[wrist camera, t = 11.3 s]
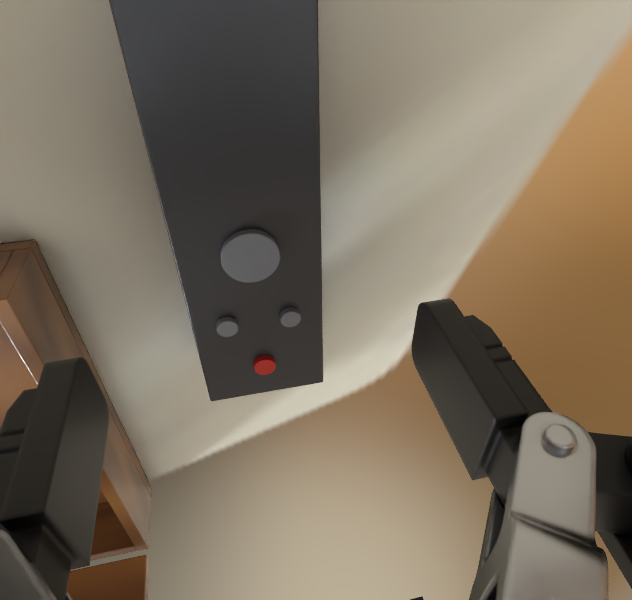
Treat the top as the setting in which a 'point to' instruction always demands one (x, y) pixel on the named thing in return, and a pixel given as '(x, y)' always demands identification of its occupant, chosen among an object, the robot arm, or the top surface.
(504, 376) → the robot arm
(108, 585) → the lid
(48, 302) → the chest
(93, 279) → the top surface
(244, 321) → the remote
